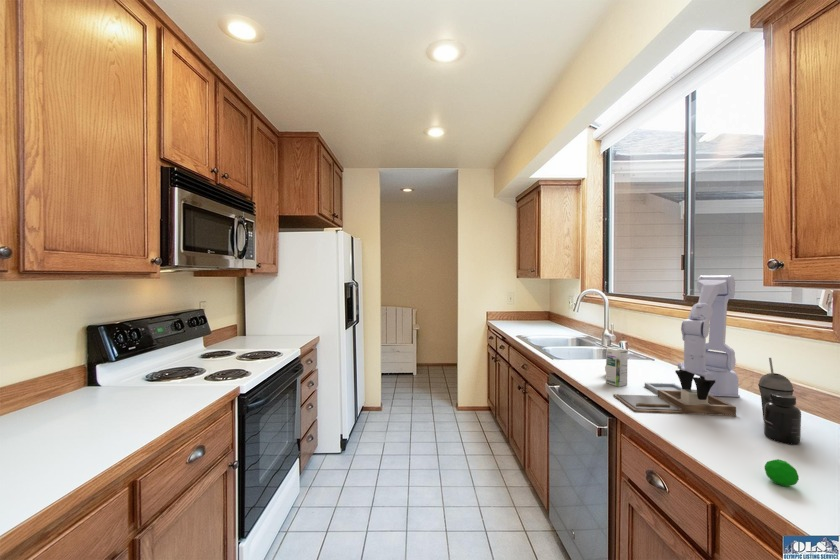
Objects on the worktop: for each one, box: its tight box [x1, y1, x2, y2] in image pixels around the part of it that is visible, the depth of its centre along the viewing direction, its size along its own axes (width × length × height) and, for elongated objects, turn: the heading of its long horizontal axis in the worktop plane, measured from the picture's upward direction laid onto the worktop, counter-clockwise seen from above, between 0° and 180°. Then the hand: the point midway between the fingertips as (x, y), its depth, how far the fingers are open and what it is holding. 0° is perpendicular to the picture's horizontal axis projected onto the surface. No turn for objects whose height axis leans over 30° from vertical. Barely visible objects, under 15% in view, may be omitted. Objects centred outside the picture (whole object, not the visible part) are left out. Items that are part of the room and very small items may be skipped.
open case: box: [613, 390, 737, 417], centre depth 119 cm, size 30×15×3 cm, turn 85°
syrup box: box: [605, 346, 629, 387], centre depth 142 cm, size 6×6×14 cm
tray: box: [644, 382, 682, 395], centre depth 132 cm, size 11×11×2 cm
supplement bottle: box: [763, 392, 802, 446], centre depth 94 cm, size 7×7×12 cm
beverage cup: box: [758, 357, 794, 421], centre depth 101 cm, size 7×7×20 cm
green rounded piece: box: [764, 458, 799, 487], centre depth 74 cm, size 5×5×5 cm
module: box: [680, 389, 708, 404], centre depth 118 cm, size 6×4×5 cm, turn 85°
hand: (694, 395), depth 118 cm, fingers open, 7 cm apart
